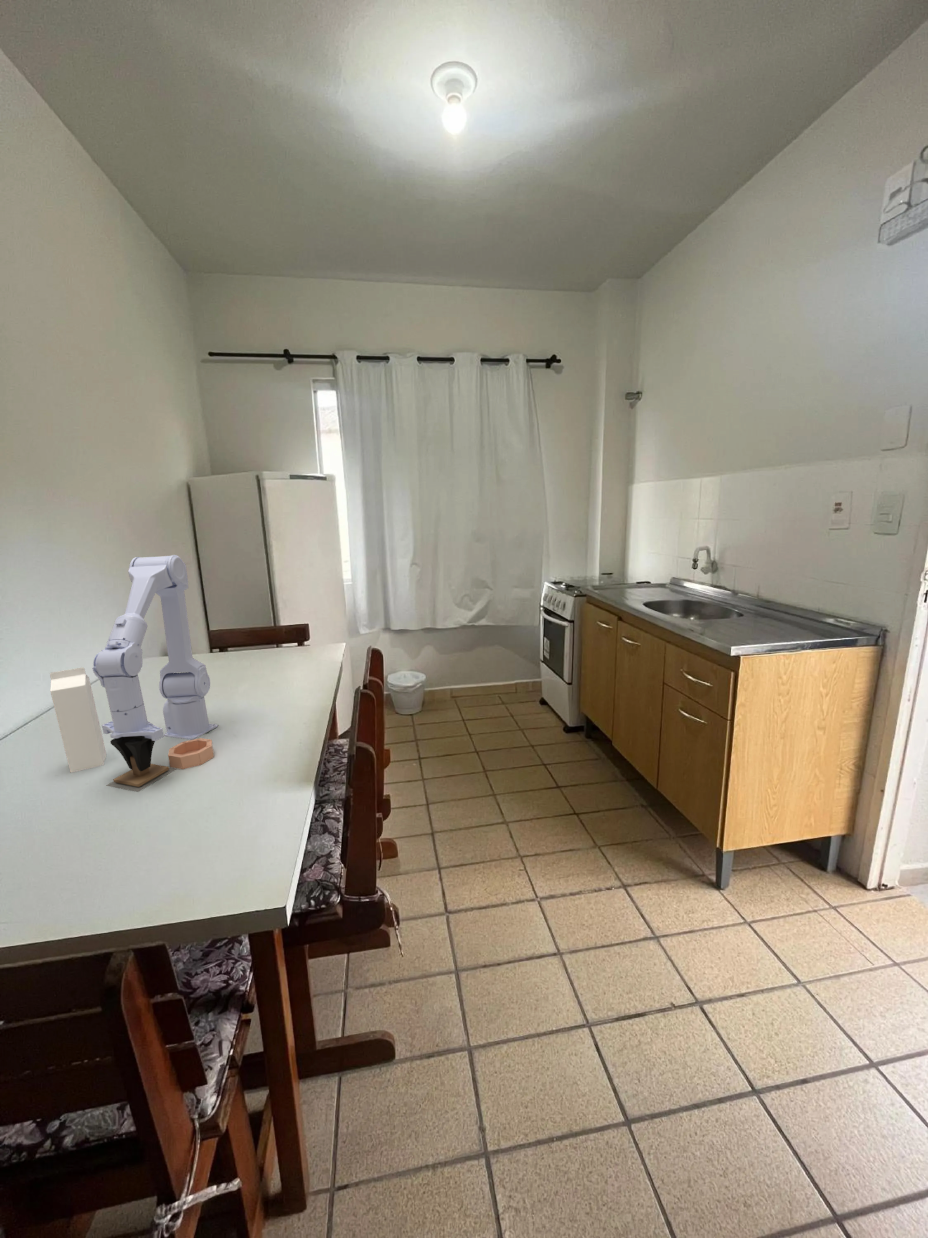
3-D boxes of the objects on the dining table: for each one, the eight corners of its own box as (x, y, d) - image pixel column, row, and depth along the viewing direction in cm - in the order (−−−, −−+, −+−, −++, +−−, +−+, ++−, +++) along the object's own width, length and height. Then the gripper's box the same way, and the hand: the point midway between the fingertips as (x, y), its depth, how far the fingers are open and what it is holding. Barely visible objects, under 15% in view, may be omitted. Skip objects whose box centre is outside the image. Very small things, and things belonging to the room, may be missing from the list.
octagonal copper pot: (162, 766, 110) (159, 754, 109) (193, 749, 118) (191, 737, 117) (191, 771, 107) (189, 758, 107) (222, 753, 115) (220, 740, 114)
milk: (104, 766, 112) (82, 670, 107) (70, 774, 109) (46, 676, 104) (107, 755, 117) (86, 663, 112) (74, 762, 114) (52, 669, 109)
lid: (113, 782, 104) (109, 761, 103) (145, 765, 110) (140, 745, 109) (138, 786, 101) (134, 765, 100) (169, 769, 108) (165, 749, 107)
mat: (105, 786, 103) (105, 785, 103) (146, 765, 111) (145, 763, 111) (138, 793, 100) (138, 791, 100) (177, 770, 108) (177, 769, 108)
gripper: (81, 710, 101) (96, 773, 104) (134, 717, 96) (148, 782, 99) (115, 697, 107) (128, 756, 110) (167, 703, 103) (179, 764, 106)
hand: (140, 767), depth 105 cm, fingers closed on lid
